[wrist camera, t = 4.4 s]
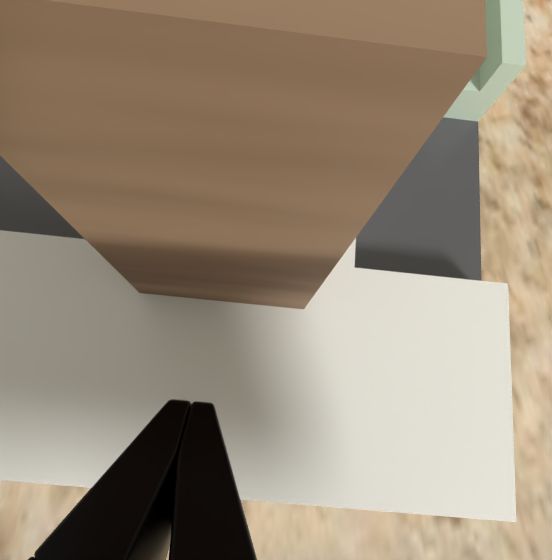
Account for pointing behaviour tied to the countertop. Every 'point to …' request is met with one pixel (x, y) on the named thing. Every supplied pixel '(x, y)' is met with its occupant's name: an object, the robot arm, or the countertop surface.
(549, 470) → the countertop surface
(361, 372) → the box
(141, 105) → the walnut block
